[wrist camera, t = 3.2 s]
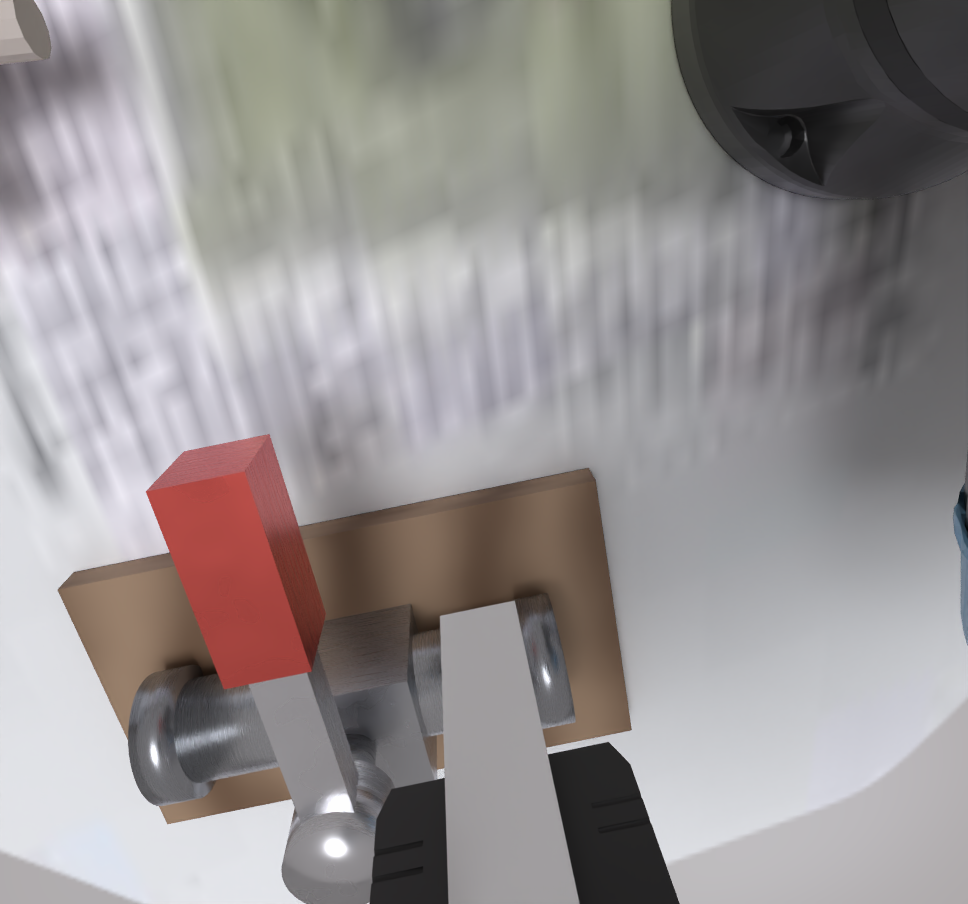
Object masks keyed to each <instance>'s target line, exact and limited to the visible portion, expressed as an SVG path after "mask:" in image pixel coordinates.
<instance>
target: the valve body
mask: <svg viewBox="0 0 968 904" xmlns="http://www.w3.org/2000/svg"><path fill="white" fill-rule="evenodd" d="M513 601H515V604H516V609H517V614H518V618H519V623H520V628H521V632H522V637H523V642H524V646H525V651H526V656H527V660H528V665H529V670H530V674H531V679H532V684H533V688H534V693H535V698H536V702H537V707H538V712H539V717H540V721H541V726H542V729H545V728H550V727H555V726H560V725H565V724H570V723H575V722H576V719H575V711H574V704H573V699H572V693H571V688H570V683H569V678H568V673H567V668H566V663H565V658H564V654H563V649H562V645H561V640H560V636H559V632H558V628H557V624H556V620H555V616H554V612H553V608H552V604H551V601H550V598H549V595H548V593H544V594H539V595H534V596H529V597H524V598H519V599H514V600H513ZM317 649H318V652H319V655H320V658H321V661H322V664H323V667H324V670H325V673H326V676H327V679H328V682H329V685H330V689H331V692H332V695H333V698H334V701H335V704H336V707H337V710H338V713H339V716H340V719H341V722H342V725H343V728H344V731H345V734H346V737H347V740H348V743H349V746H350V749H351V752H352V756H353V759H354V760H360V761H364V762H368V763H370V764H373V765H375V766H376V767H378V768H380V769H381V770H383V771H384V772H385V773H386V774H387V775H388V776H389V777H390V779H391V780H392V782H393V784H394V786H395V788H399V787H403V786H408V785H413V784H418V783H423V782H428V781H433V780H437V735H440V734H443V701H442V667H441V634H440V629H435V630H430V631H425V632H420V633H418V629H417V625H416V622H415V618H414V614H413V610H412V606H411V603H410V604H405V605H400V606H395V607H390V608H386V609H381V610H376V611H371V612H366V613H361V614H356V615H351V616H346V617H341V618H336V619H331V620H326V621H324V624H323V628H322V632H321V636H320V640H319V644H318V648H317ZM128 747H129V757H130V763H131V768H132V772H133V775H134V778H135V781H136V783H137V786H138V788H139V790H140V791H141V793H142V794H143V796H144V797H145V798H146V799H147V800H148V801H149V802H150V803H152V804H153V805H156V806H165V805H170V804H175V803H180V802H185V801H190V800H195V799H199V798H203V797H205V796H206V795H207V794H208V793H209V792H210V791H211V790H212V788H213V787H214V785H215V783H216V780H218V779H223V778H228V777H233V776H238V775H242V774H247V773H252V772H257V771H262V770H267V769H272V768H277V767H279V764H278V761H277V759H276V756H275V753H274V751H273V748H272V746H271V743H270V740H269V738H268V735H267V732H266V730H265V727H264V724H263V722H262V719H261V716H260V714H259V711H258V709H257V706H256V703H255V701H254V698H253V695H252V693H251V690H250V687H249V685H243V686H238V687H234V688H229V689H224V688H223V686H222V683H221V681H220V678H219V676H218V674H213V675H208V676H204V675H203V673H202V670H201V668H200V666H198V665H188V666H183V667H178V668H173V669H169V670H164V671H159V672H154V673H152V674H150V675H149V676H147V677H146V678H145V679H144V681H143V682H142V683H141V685H140V686H139V688H138V690H137V692H136V695H135V697H134V700H133V704H132V707H131V712H130V718H129V728H128Z"/></svg>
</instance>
